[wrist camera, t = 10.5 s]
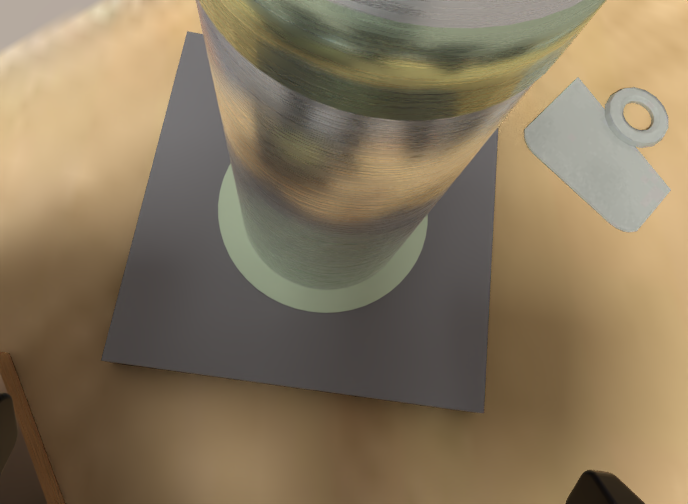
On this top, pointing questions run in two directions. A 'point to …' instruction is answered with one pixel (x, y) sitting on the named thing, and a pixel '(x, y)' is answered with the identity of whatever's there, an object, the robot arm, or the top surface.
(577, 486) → the robot arm
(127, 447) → the top surface
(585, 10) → the canister
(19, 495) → the control unit
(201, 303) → the pad
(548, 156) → the mounting bracket
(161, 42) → the top surface
